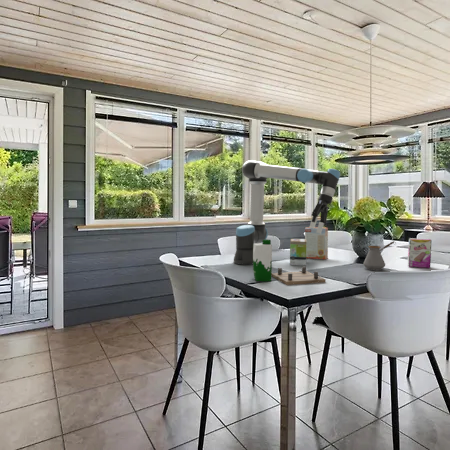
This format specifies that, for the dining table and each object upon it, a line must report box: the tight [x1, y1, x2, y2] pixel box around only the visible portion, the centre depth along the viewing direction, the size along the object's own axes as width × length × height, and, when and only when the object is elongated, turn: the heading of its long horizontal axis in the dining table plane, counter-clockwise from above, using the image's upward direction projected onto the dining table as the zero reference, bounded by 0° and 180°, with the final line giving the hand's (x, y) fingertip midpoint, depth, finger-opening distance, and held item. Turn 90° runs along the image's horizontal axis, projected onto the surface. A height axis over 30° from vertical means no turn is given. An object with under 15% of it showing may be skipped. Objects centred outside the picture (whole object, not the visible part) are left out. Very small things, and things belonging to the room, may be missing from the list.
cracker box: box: [304, 226, 329, 260], centre depth 238 cm, size 14×6×21 cm, turn 58°
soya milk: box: [252, 238, 273, 282], centre depth 176 cm, size 9×9×20 cm
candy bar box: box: [407, 237, 432, 269], centre depth 204 cm, size 11×5×16 cm, turn 71°
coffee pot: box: [362, 241, 397, 271], centre depth 202 cm, size 21×12×15 cm, turn 113°
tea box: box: [289, 238, 307, 266], centre depth 221 cm, size 15×10×15 cm, turn 168°
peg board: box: [271, 266, 327, 286], centre depth 177 cm, size 20×20×4 cm
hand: (315, 230), depth 202 cm, fingers open, 13 cm apart
